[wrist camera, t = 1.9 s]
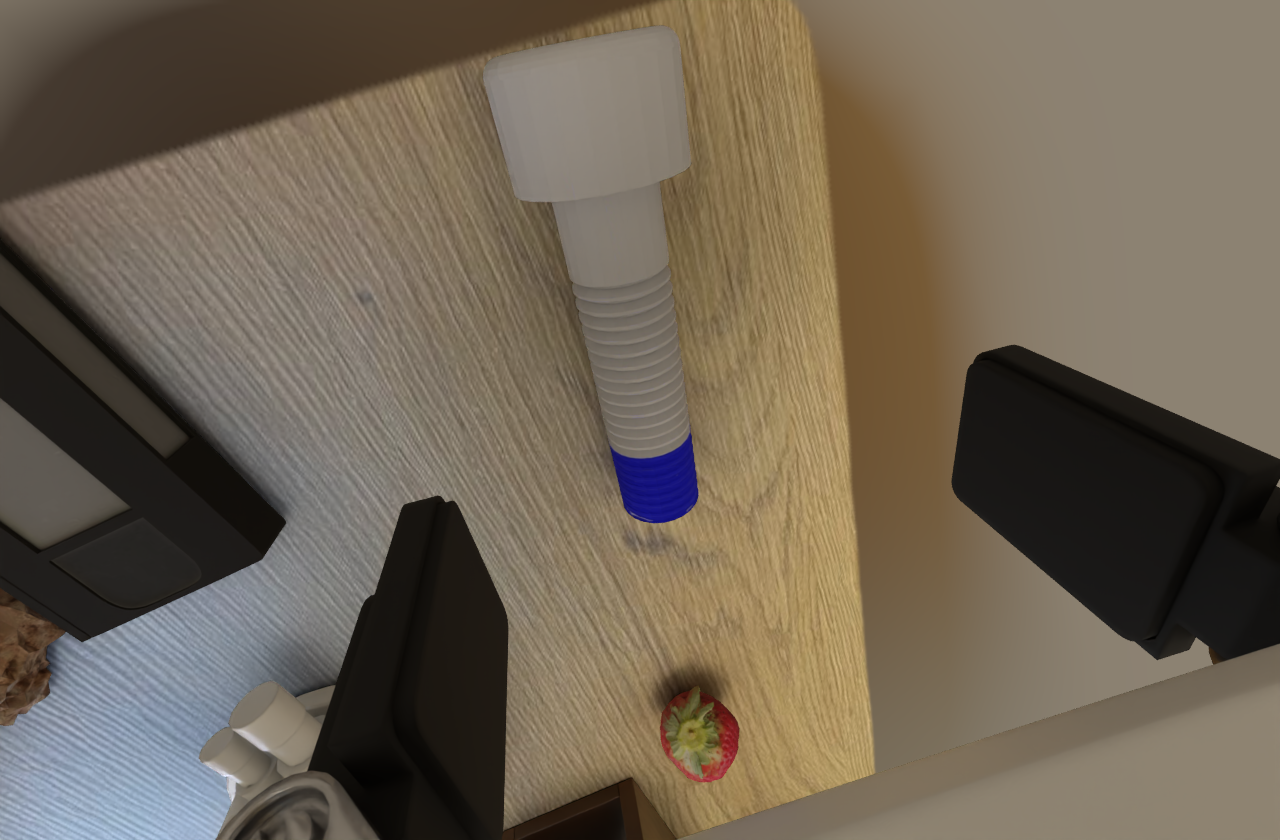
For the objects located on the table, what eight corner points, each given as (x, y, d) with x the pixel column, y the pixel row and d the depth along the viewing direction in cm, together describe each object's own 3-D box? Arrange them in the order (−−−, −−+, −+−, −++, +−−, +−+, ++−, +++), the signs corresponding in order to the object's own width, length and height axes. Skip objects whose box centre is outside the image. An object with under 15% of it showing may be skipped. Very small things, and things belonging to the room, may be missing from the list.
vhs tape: (-107, 128, 14) (-203, 127, 12) (290, 522, 20) (266, 558, 19) (-350, 256, 14) (-478, 273, 12) (120, 600, 21) (82, 642, 19)
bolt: (496, 59, 15) (456, 61, 11) (668, 26, 15) (691, 16, 11) (602, 470, 24) (601, 555, 20) (711, 453, 24) (733, 536, 20)
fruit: (674, 740, 33) (698, 831, 28) (638, 687, 30) (658, 781, 25) (737, 711, 33) (771, 799, 28) (707, 656, 30) (740, 744, 25)
